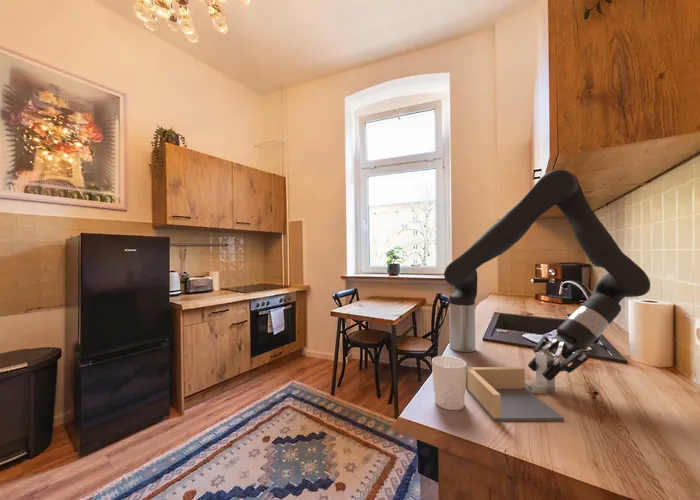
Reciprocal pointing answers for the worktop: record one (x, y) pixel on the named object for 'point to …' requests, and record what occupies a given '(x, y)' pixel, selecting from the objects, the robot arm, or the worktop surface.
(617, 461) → the worktop surface
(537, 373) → the bracket
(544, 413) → the corner tray
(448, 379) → the white cup
